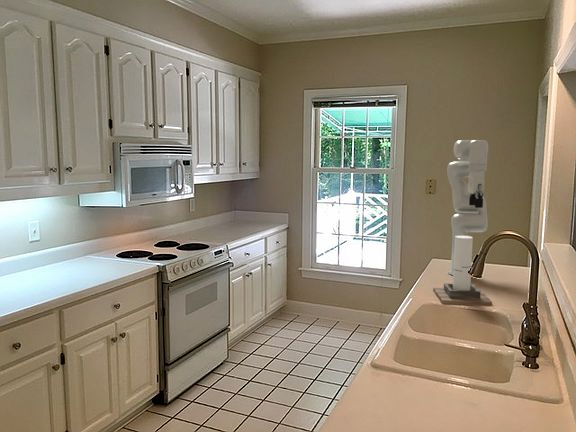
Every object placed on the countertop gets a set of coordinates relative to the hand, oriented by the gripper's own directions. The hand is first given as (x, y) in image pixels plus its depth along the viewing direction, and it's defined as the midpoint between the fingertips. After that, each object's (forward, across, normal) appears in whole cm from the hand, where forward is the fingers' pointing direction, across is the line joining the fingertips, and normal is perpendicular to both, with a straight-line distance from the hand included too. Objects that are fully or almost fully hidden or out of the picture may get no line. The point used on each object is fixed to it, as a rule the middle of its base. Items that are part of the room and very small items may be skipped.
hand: (475, 206), depth 223 cm
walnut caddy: (+38, +14, -8) cm, 42 cm away
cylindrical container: (+37, +14, -8) cm, 40 cm away
